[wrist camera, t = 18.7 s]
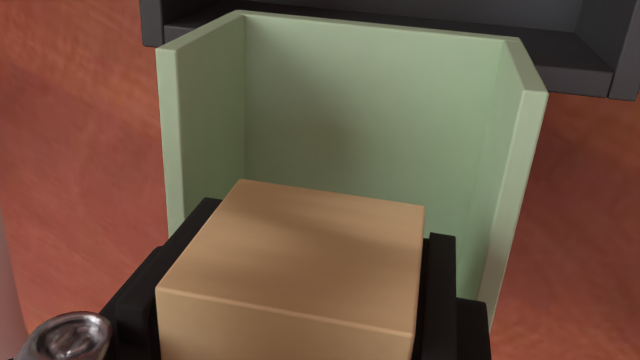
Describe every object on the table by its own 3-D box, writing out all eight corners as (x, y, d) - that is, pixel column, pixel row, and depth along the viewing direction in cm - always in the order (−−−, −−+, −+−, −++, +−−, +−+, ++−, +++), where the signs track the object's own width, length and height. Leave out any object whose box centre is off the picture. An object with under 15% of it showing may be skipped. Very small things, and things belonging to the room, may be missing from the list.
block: (240, 322, 14) (168, 462, 10) (239, 177, 12) (152, 287, 9) (402, 353, 13) (384, 513, 10) (426, 204, 12) (415, 336, 8)
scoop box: (435, 433, 22) (427, 721, 14) (238, 391, 23) (132, 636, 15) (520, 37, 15) (594, 175, 7) (235, 8, 16) (41, 101, 9)
